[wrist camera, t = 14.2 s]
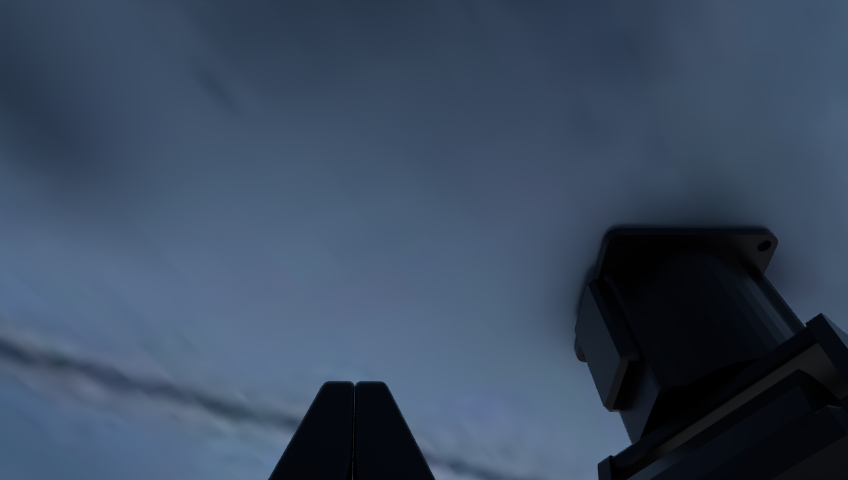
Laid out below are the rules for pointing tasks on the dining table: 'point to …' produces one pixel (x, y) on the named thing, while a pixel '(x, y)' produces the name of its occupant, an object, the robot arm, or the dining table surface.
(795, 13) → the dining table surface
